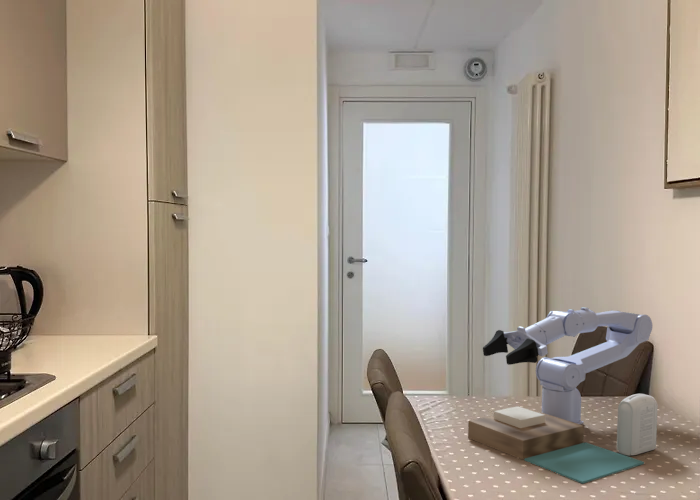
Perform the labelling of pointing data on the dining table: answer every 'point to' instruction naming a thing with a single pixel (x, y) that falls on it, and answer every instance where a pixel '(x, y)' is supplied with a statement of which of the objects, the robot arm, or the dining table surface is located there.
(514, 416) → the coaster
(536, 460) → the mat
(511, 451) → the wood grain panel
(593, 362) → the robot arm
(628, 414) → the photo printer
